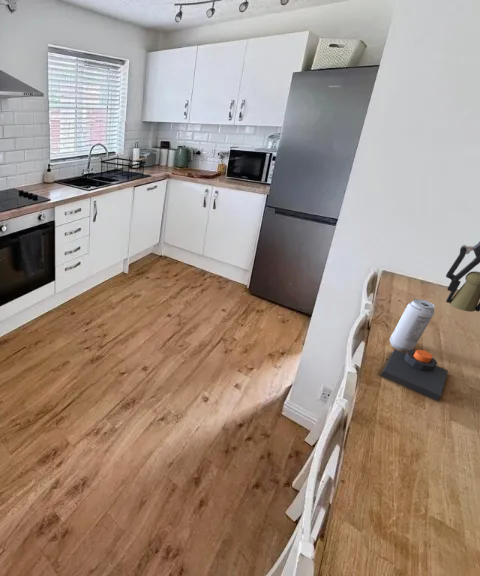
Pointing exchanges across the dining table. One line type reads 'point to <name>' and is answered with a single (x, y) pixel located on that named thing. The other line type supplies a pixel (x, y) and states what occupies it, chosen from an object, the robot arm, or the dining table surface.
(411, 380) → the scale
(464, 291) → the cork
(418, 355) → the button
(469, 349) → the dining table surface
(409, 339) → the energy drink can
